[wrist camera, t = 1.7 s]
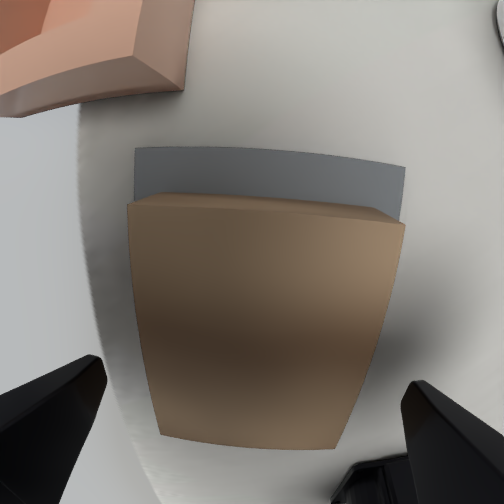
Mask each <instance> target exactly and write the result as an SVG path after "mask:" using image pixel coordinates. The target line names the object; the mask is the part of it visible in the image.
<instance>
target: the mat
mask: <svg viewBox="0 0 504 504" xmlns="http://www.w3.org/2000/svg"><path fill="white" fill-rule="evenodd" d="M405 168H406V167H402V166H396V165H391V164H385V163H379V162H373V161H367V160H361V159H354V158H347V157H339V156H332V155H323V154H314V153H305V152H294V151H283V150H269V149H253V148H232V147H147V148H135V166H134V200H135V201H138V200H141V199H143V198H146V197H149V196H152V195H154V194H157V193H160V192H176V193H204V194H225V195H243V196H258V197H272V198H285V199H297V200H308V201H319V202H329V203H339V204H348V205H357V206H365V207H373V208H376V209H378V210H379V211H381V212H383V213H385V214H387V215H389V216H390V217H392V218H394V219H396V220H398V221H399V216H400V210H401V202H402V195H403V187H404V178H405Z"/></svg>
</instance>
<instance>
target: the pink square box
mask: <svg viewBox="0 0 504 504" xmlns="http://www.w3.org/2000/svg"><path fill="white" fill-rule="evenodd" d="M194 2H195V0H0V117H14V118H22V117H26V116H29V115H33V114H36V113H40V112H44V111H47V110H52V109H55V108H59V107H64V106H69V105H73V104H78V103H83V102H88V101H94V100H100V99H106V98H112V97H119V96H126V95H134V94H143V93H153V92H165V91H180V90H184V83H185V72H186V62H187V53H188V45H189V36H190V29H191V22H192V15H193V8H194Z"/></svg>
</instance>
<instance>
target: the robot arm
mask: <svg viewBox="0 0 504 504" xmlns="http://www.w3.org/2000/svg"><path fill="white" fill-rule="evenodd" d="M106 385H107V375H106V372H105V368H104V365H103V361H102V359H101V358H100V357H98V356H94V355H86V356H84V357H82V358H79V359H78V360H75V361H73V362H71V363H69V364H67V365H65V366H63V367H60V368H58V369H56V370H54V371H52V372H50V373H48V374H45V375H43V376H41V377H39V378H37V379H34V380H32V381H30V382H28V383H26V384H24V385H21V386H19V387H17V388H15V389H13V390H10V391H8V392H6V393H4V394H2V395H0V504H59V502H60V499H61V497H62V494H63V491H64V489H65V487H66V484H67V482H68V480H69V477H70V475H71V472H72V470H73V468H74V465H75V463H76V461H77V458H78V456H79V454H80V451H81V449H82V447H83V445H84V443H85V440H86V438H87V436H88V434H89V431H90V430H91V427H92V425H93V423H94V420H95V417H96V414H97V411H98V408H99V405H100V402H101V400H102V397H103V394H104V391H105V388H106ZM401 413H402V420H403V426H404V433H405V441H406V447H407V452H408V456H407V457H402V458H396V459H390V460H384V461H377V462H370V463H362V464H358V465H355V466H353V467H352V469H351V470H350V472H349V473H348V475H347V476H346V478H345V479H344V481H343V482H342V484H341V485H340V486H339V488H338V489H337V491H336V492H335V494H334V495H333V496H332V498H331V499H330V501H331V504H345V503H346V504H504V437H503V435H502V434H500V433H499V432H497V431H496V430H495V429H493V428H492V427H490V426H489V425H487V424H486V423H485V422H483V421H482V420H480V419H479V418H477V417H476V416H474V415H473V414H472V413H470V412H469V411H467V410H466V409H464V408H463V407H462V406H460V405H459V404H457V403H456V402H454V401H453V400H452V399H450V398H449V397H447V396H446V395H444V394H443V393H442V392H440V391H439V390H437V389H436V388H434V387H433V386H432V385H430V384H429V383H427V382H426V381H424V380H418V381H412V382H411V383H410V384H409V386H408V388H407V390H406V392H405V394H404V396H403V398H402V400H401Z"/></svg>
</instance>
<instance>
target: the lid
mask: <svg viewBox="0 0 504 504" xmlns="http://www.w3.org/2000/svg"><path fill="white" fill-rule="evenodd" d="M127 215H128V236H129V252H130V264H131V275H132V285H133V294H134V302H135V310H136V317H137V324H138V331H139V337H140V343H141V349H142V355H143V360H144V365H145V370H146V375H147V380H148V385H149V390H150V394H151V398H152V403H153V407H154V411H155V415H156V419H157V423H158V427H159V430H160V434H161V435H165V436H169V437H174V438H180V439H185V440H191V441H197V442H203V443H210V444H217V445H226V446H235V447H246V448H259V449H280V450H320V449H335V448H336V446H337V443H338V441H339V439H340V437H341V435H342V433H343V431H344V428H345V426H346V424H347V422H348V419H349V417H350V415H351V412H352V410H353V407H354V405H355V403H356V400H357V398H358V395H359V393H360V390H361V387H362V385H363V382H364V379H365V377H366V374H367V371H368V368H369V366H370V363H371V360H372V357H373V354H374V351H375V348H376V345H377V342H378V338H379V335H380V332H381V329H382V325H383V322H384V318H385V315H386V311H387V308H388V304H389V300H390V296H391V292H392V288H393V284H394V280H395V276H396V271H397V267H398V262H399V257H400V252H401V247H402V242H403V236H404V231H405V224H403V223H401V222H399V221H398V220H396V219H394V218H392V217H390V216H389V215H387V214H385V213H383V212H381V211H379V210H378V209H376V208H373V207H365V206H357V205H348V204H339V203H329V202H319V201H308V200H297V199H285V198H272V197H258V196H243V195H225V194H204V193H176V192H160V193H157V194H154V195H152V196H149V197H146V198H143V199H141V200H138V201H135V202H133V203H130V204H127Z"/></svg>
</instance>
